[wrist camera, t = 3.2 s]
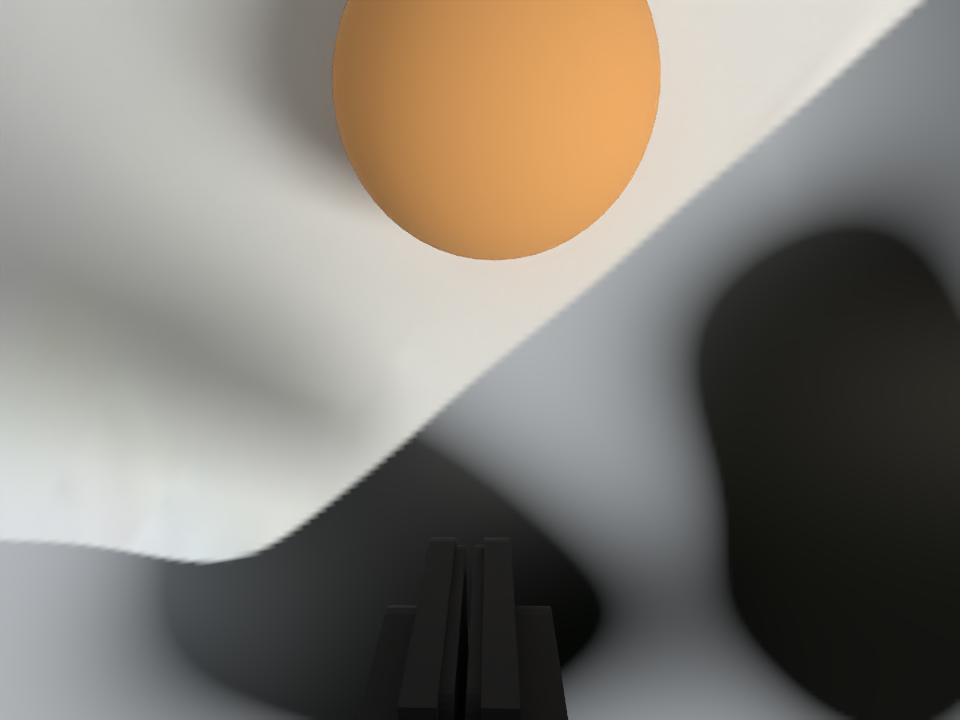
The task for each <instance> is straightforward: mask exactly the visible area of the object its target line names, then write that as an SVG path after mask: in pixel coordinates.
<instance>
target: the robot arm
mask: <svg viewBox="0 0 960 720" xmlns="http://www.w3.org/2000/svg"><path fill="white" fill-rule="evenodd" d="M473 563H474V564H473V581H472V600H471V619H470V637H468V589H467V547H466V545H457V539H456V538H430V541H429V546H428V551H427V556H426V561H425V566H424V571H423V577H422V582H421V587H420V592H419V597H418V602H417V605H389V606H388V608H387V610H386V614H385V617H384V621H383V625H382V628H381V632H380V636H379V640H378V643H377V647H376V651H375V654H374V658H373V662H372V665H371V669H370V673H369V677H368V680H367V684H366V688H365V691H364V695H363V699H362V703H361V706H360V710H359V714H358V717H357V720H568V716H567V709H566V703H565V696H564V689H563V683H562V676H561V670H560V663H559V656H558V650H557V644H556V637H555V630H554V623H553V617H552V611H551V608H550V606H514V590H513V573H512V555H511V539H510V538H485V545H475V546H474V562H473ZM468 640H469V641H468Z"/></svg>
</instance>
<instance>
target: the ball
mask: <svg viewBox="0 0 960 720" xmlns="http://www.w3.org/2000/svg"><path fill="white" fill-rule="evenodd" d="M332 89H333V102H334V109H335V116H336V121H337V125H338V129H339V133H340V137H341V140H342V143H343V145H344V148H345V151H346V153H347V156H348V158H349V161H350V163H351V165H352V166H353V168H354V170H355V172H356V174H357V176H358V178H359V180H360V181H361V183H362V185H363V186H364V187H365V189H366V190H367V192H368V193H369V195H370V196H371V197H372V199H373V200H374V201H375V203H376V204H377V205H378V206H379V207H380V208H381V209H382V210H383V211H384V212H385V214H386V215H387V216H388V217H389V218H391V219H392V220H393V221H394V222H395V223H396V224H398V225H399V226H400V227H401V228H402V229H403V230H405V231H406V232H408V233H409V234H411V235H412V236H414V237H416V238H417V239H419V240H420V241H422V242H424V243H426V244H428V245H430V246H432V247H434V248H437V249H439V250H442V251H445V252H448V253H451V254H454V255H457V256H462V257H467V258H473V259H482V260H505V259H516V258H521V257H526V256H530V255H535V254H538V253H541V252H543V251H546V250H549V249H552V248H554V247H556V246H558V245H560V244H562V243H564V242H566V241H568V240H570V239H572V238H573V237H575V236H576V235H578V234H579V233H581V232H582V231H584V230H585V229H587V228H588V227H589V226H591V225H592V224H593V223H594V222H595V221H596V220H597V219H599V218H600V217H601V216H602V215H603V214H604V213H605V212H606V211H607V210H608V209H609V208H610V207H611V205H612V204H613V203H614V202H615V201H616V200H617V199H618V198H619V196H620V195H621V193H622V192H623V190H624V189H625V187H626V186H627V185H628V183H629V182H630V180H631V179H632V177H633V175H634V173H635V171H636V169H637V167H638V165H639V164H640V162H641V160H642V157H643V155H644V152H645V150H646V147H647V144H648V142H649V139H650V137H651V134H652V130H653V126H654V122H655V118H656V114H657V109H658V101H659V94H660V55H659V46H658V39H657V35H656V31H655V26H654V22H653V18H652V14H651V11H650V9H649V6H648V3H647V1H646V0H347V3H346V6H345V9H344V12H343V14H342V17H341V20H340V24H339V29H338V33H337V38H336V42H335V49H334V59H333V69H332Z"/></svg>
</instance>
